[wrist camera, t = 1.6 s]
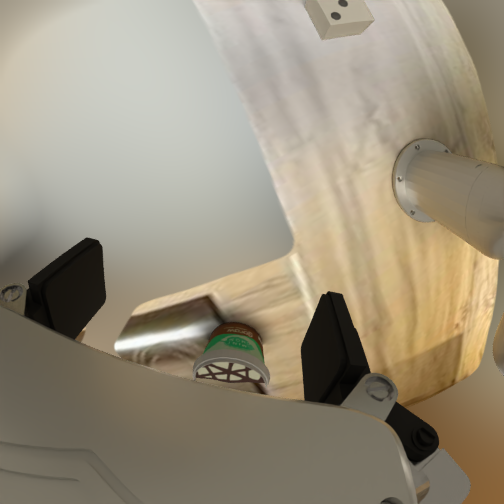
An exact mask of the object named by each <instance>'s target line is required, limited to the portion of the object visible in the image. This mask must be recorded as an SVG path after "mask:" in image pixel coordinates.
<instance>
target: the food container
mask: <svg viewBox="0 0 504 504" xmlns="http://www.w3.org/2000/svg"><path fill="white" fill-rule="evenodd" d="M196 378H206V379H214V380H218V381H223V382H229V383H238V382H256V383H265V385H266V386H267V385H268V384H269V380H270V373H269V370H268V369H267V367H266V366H265V364H264V355H263V346H262V339H261V337H260V335H259V333H258V332H257V331H256V330H255V329H254V328H252V327H250V326H248V325H246V324H243V323H238V322H230V323H225V324H222V325H220V326H218V327H217V328H216V329H215V330H214V331H213V332H212V335H211V337H210V339H209V341H208V344H207V346H206V348H205V350H204V353H203V355H201V356H200V357H199V358H198V359H197V360H196V361H195V363H194V366H193V379H194V381H195V379H196Z"/></svg>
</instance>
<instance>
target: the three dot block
mask: <svg viewBox="0 0 504 504" xmlns="http://www.w3.org/2000/svg"><path fill="white" fill-rule="evenodd" d="M305 9H306V11H307V12H308V14H309V16H310V18H311V20H312V22H313V24H314V26H315V28H316V30H317V32H318V34H319V36H320V38H321V40H327V39H333V38H339V37H345V36H352V35H360V34H361V33H362V32H363V31H364V30H365V29H366V28H367V27H368V26H369V25H370V24H371V23H372V22H373V21H374V18H373V16H372V14H371V13H370V11H369V9H368V7H367V5H366V4H365V2H364V0H307V1H306V5H305Z"/></svg>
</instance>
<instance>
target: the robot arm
mask: <svg viewBox="0 0 504 504" xmlns="http://www.w3.org/2000/svg"><path fill="white" fill-rule="evenodd" d="M415 146H416V148H415ZM398 177H399V179H397V178H398ZM392 180H393V190H394V195H395V197H396V200H397V202H398V204H399V206H400V207H401V209H402V210H403V211H404V212H405V213H406V214H407V215H408V216H410V217H411V218H413V219H415V220H417V221H420V222H433V221H436V222H438V223H439V224H441V225H443V226H444V227H446V228H447V229H449V230H450V231H451V232H453V233H454V234H456V235H457V236H459V237H460V238H462V239H463V240H464V241H466V242H467V243H469V244H470V245H471V246H473V247H474V248H475V249H477V250H478V251H480V252H481V253H482V254H484V255H485V256H487V257H490V258H492V259H497V260H503V259H504V167H502V166H499V165H496V164H492V163H488V162H485V161H481V160H477V159H473V158H469V157H464V156H460V155H455V154H452V152H451V151H450V150H449V149H448V148H447V147H446V146H445V145H444V144H442V143H440V142H438V141H435V140H432V139H420V140H416V141H414V142H412V143H410V144H409V145H407V146H406V147H405V148H404V149H403V150H402V152H401V153H400V155H399V156H398V159H397V161H396V163H395V167H394V170H393V179H392ZM28 284H29V289H28V290H26V287H25V286H24V285H22V284H20V283H12V284H8V285H6V286H4V287H3V288H1V289H0V504H461V503H462V502H463V501H464V499H465V498H466V497H467V495H468V493H469V491H470V486H471V485H470V480H469V478H468V477H467V476H466V474H465V473H464V472H463V471H462V469H461V468H460V467H459V466H458V465H457V464H456V462H455V461H454V460H453V459H452V458H451V457H450V455H449V454H448V453H447V452H446V451H445V450H444V449H441V450H439V448H438V445H439V438H438V435H437V433H436V431H435V430H434V428H432V427H431V426H430V425H429V424H427V423H426V422H424V421H423V420H421V419H420V418H419V417H417V416H416V415H414V414H413V413H411V412H410V411H409V410H407V409H406V408H404V407H403V406H401V405H400V404H399V403H397V402H396V400H397V397H398V390H397V388H396V385H395V384H394V383H393V382H392V380H390V379H389V378H388V377H386V376H384V375H382V374H378V373H371V372H370V368H369V365H368V362H367V359H366V356H365V353H364V350H363V347H362V344H361V341H360V338H359V335H358V332H357V330H356V329H355V328H354V325H353V323H352V320H351V317H350V314H349V311H348V308H347V306H346V303H345V300H344V298H343V295H342V294H340V293H335V292H330V291H328V292H327V294H322V296H321V298H320V301H319V303H318V306H317V308H316V311H315V313H314V316H313V318H312V321H311V323H310V326H309V328H308V330H307V333H306V335H305V338H304V340H303V342H302V346H301V359H302V371H303V384H304V398H305V401H303V400H295V399H288V398H281V397H274V396H268V395H262V394H256V393H250V392H245V391H239V390H234V389H229V388H225V387H220V386H215V385H211V384H207V383H202V382H198V381H194V380H190V379H187V378H183V377H179V376H175V375H172V374H168V373H165V372H162V371H158V370H155V369H152V368H149V367H145V366H142V365H139V364H136V363H133V362H130V361H127V360H125V359H122V358H119V357H116V356H114V355H110V354H108V353H106V352H103V351H100V350H98V349H95V348H93V347H90V346H88V345H86V344H83V343H81V342H78V341H76V340H75V338H76V337H77V336H78V335H79V333H80V332H81V331H82V330H83V328H84V327H85V326H86V325H87V323H88V322H89V321H90V320H91V319H92V317H93V316H94V315H95V314H96V313H97V311H98V310H99V309H100V308H101V307H102V306H103V304H104V303H105V300H106V291H105V280H104V268H103V250H102V245H101V244H100V243H99V241H98V240H95V239H91V238H85V239H84V240H82V241H81V242H79V243H78V244H76V245H75V246H73V247H72V248H71V249H69V250H68V251H67V252H65V253H64V254H62V255H61V256H59V257H58V258H57V259H56V260H54V261H53V262H51V263H50V264H49V265H48V266H46V267H45V268H44V269H42V270H41V271H40V272H38V273H37V274H36V275H35V276H33V277H32V278H31V279H30V280H28ZM493 356H494V360H495V363H496V365H497V367H498V369H499V371H500V372H501V373H502V375H503V376H504V313H503V315H502V318H501V320H500V323H499V325H498V328H497V330H496V334H495V337H494V342H493Z"/></svg>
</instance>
